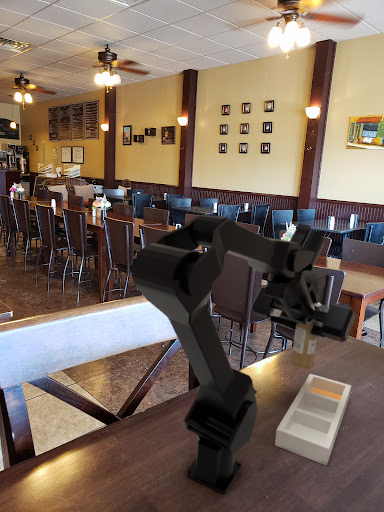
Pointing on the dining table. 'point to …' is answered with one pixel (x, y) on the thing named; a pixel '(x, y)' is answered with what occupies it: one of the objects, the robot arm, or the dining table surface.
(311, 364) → the sprinkles bottle
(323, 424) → the condiment rack
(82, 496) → the dining table surface
